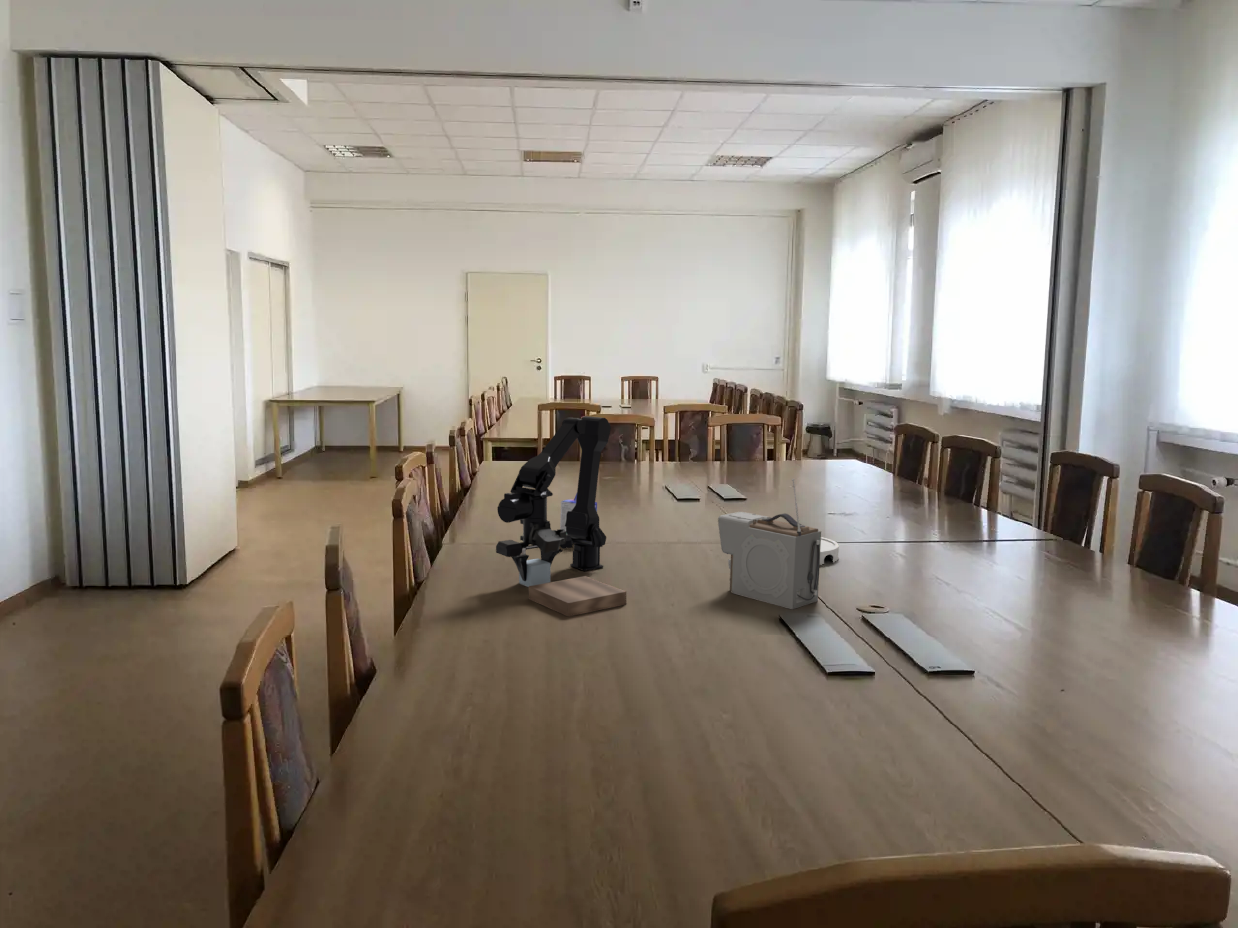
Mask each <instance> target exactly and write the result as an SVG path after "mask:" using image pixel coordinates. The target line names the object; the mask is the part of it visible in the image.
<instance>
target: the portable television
mask: <svg viewBox="0 0 1238 928" xmlns="http://www.w3.org/2000/svg"><path fill="white" fill-rule="evenodd" d="M791 481H792V486H793V493H794V494H793V495H794V504H795V505H794V506H795V514H796V515H795V516H796V520H795V519H794V517H792V516H791V515H790V514H788V513H785V512H784V513H780V514H776V515H774V516H772V517H771V516H767V515H761V514H756V513H751V512H745V511H736V512H731V513H726V514H722V515H721V514H720V515H719V516H718V518H717V523H718V524H717V525H718V534H719V539H720V546H721V547H720V549H721V552H722V553H724V554H727V555H730V559H728V560H727V563H728V569H729V570H730V571H729V572H730V574H729V592H731V593H732V594H734V595H739V596H741V597H745V598H750V599H753V600H757V601H758V602H759V601H760V602H764V603H767V604H771V605H774V606H778V607H782V608H786V609H790V610H795V609H798V608H801V607H804V606H807V605H809V604H813V603H816V602H818V601H819V581H820V568H821V567H820V566H821V565H820V546H821V537H822V531H821V530H819V528H815V527H811V526H807V525H804V524H801V523H800V519H799V517H800V516H799V512H798V511H799V509H798V502H797V496H796V489H795V478H792V479H791ZM780 518H782V519H784V520H785V521H786V522H784V521H779V520H777V519H780Z"/></svg>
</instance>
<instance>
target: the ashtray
mask: <svg viewBox="0 0 1238 928" xmlns="http://www.w3.org/2000/svg"><path fill="white" fill-rule="evenodd" d="M839 547H840V546H839V543H838V542H837V541H835V540H833V539H831V538H826V537H823V536H821V546H820V566H823V565H822V564H824V565H825V558H826V556H829V558H830V560H831V561H833V562H832V563H836V562H837V561H838V560H839V550H840V549H839ZM835 561H836V562H835Z"/></svg>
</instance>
